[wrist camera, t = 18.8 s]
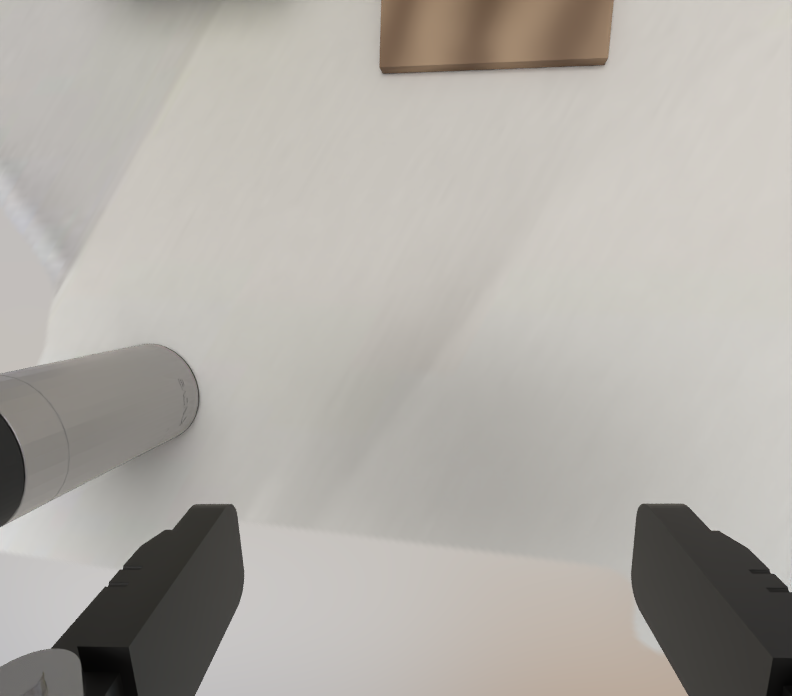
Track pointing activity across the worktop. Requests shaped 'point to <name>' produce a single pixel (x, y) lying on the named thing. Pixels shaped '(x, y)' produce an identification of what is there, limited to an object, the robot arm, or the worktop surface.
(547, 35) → the walnut board
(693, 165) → the worktop surface
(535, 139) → the worktop surface
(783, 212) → the worktop surface
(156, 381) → the robot arm
